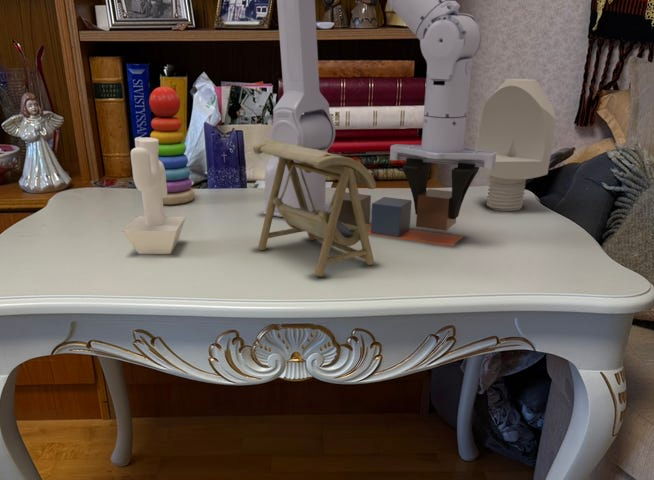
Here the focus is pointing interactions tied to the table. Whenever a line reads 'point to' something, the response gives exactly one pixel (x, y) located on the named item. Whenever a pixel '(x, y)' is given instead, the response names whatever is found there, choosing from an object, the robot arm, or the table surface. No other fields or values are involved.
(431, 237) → the line strip
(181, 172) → the stacking toy
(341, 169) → the swing bench
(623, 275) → the table surface
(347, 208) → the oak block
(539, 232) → the table surface
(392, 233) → the slate block
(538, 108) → the beige tall piece
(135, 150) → the figurine
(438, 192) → the walnut block
